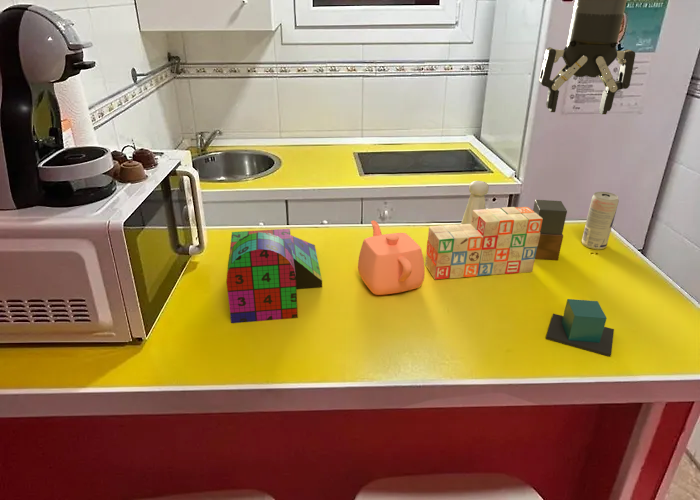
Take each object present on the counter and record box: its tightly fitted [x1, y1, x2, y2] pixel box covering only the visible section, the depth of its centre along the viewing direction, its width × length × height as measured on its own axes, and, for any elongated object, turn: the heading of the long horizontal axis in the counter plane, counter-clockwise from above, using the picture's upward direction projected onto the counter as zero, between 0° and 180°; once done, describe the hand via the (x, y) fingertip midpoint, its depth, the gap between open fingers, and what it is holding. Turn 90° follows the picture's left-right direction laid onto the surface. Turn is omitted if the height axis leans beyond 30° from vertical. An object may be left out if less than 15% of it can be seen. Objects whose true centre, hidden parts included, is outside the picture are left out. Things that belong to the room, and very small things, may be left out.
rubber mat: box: [545, 313, 615, 358], centre depth 88 cm, size 10×8×1 cm
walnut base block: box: [535, 233, 564, 261], centre depth 113 cm, size 6×6×6 cm
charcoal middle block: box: [532, 199, 568, 235], centre depth 111 cm, size 6×6×6 cm
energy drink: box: [581, 191, 619, 251], centre depth 116 cm, size 5×5×12 cm
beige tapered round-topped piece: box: [460, 180, 489, 224], centre depth 120 cm, size 6×6×13 cm
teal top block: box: [562, 298, 608, 343], centre depth 87 cm, size 5×5×5 cm
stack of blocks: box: [425, 206, 543, 280], centre depth 105 cm, size 21×6×12 cm, turn 101°
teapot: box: [357, 219, 426, 296], centre depth 101 cm, size 12×18×10 cm, turn 19°
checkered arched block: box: [226, 228, 323, 324], centre depth 99 cm, size 25×17×14 cm
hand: (577, 112), depth 91 cm, fingers open, 8 cm apart
